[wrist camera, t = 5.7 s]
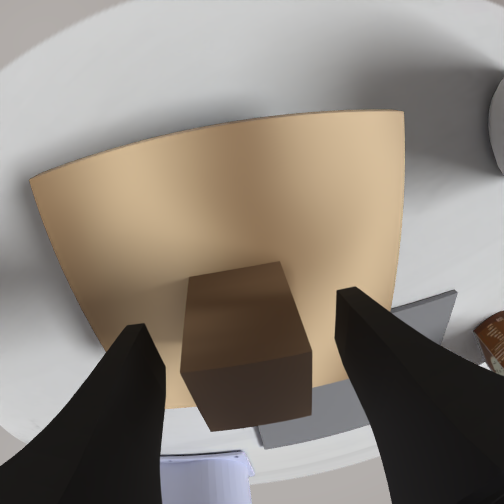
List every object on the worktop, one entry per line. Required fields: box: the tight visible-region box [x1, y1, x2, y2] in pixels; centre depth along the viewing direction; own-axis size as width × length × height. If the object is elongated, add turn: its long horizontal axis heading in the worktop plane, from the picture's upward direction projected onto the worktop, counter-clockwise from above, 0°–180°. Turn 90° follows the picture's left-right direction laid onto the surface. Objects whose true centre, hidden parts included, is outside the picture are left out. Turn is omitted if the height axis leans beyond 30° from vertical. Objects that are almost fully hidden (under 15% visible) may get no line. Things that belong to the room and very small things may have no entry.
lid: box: [29, 109, 405, 432], centre depth 9 cm, size 12×12×5 cm
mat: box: [258, 290, 457, 449], centre depth 22 cm, size 16×16×1 cm
